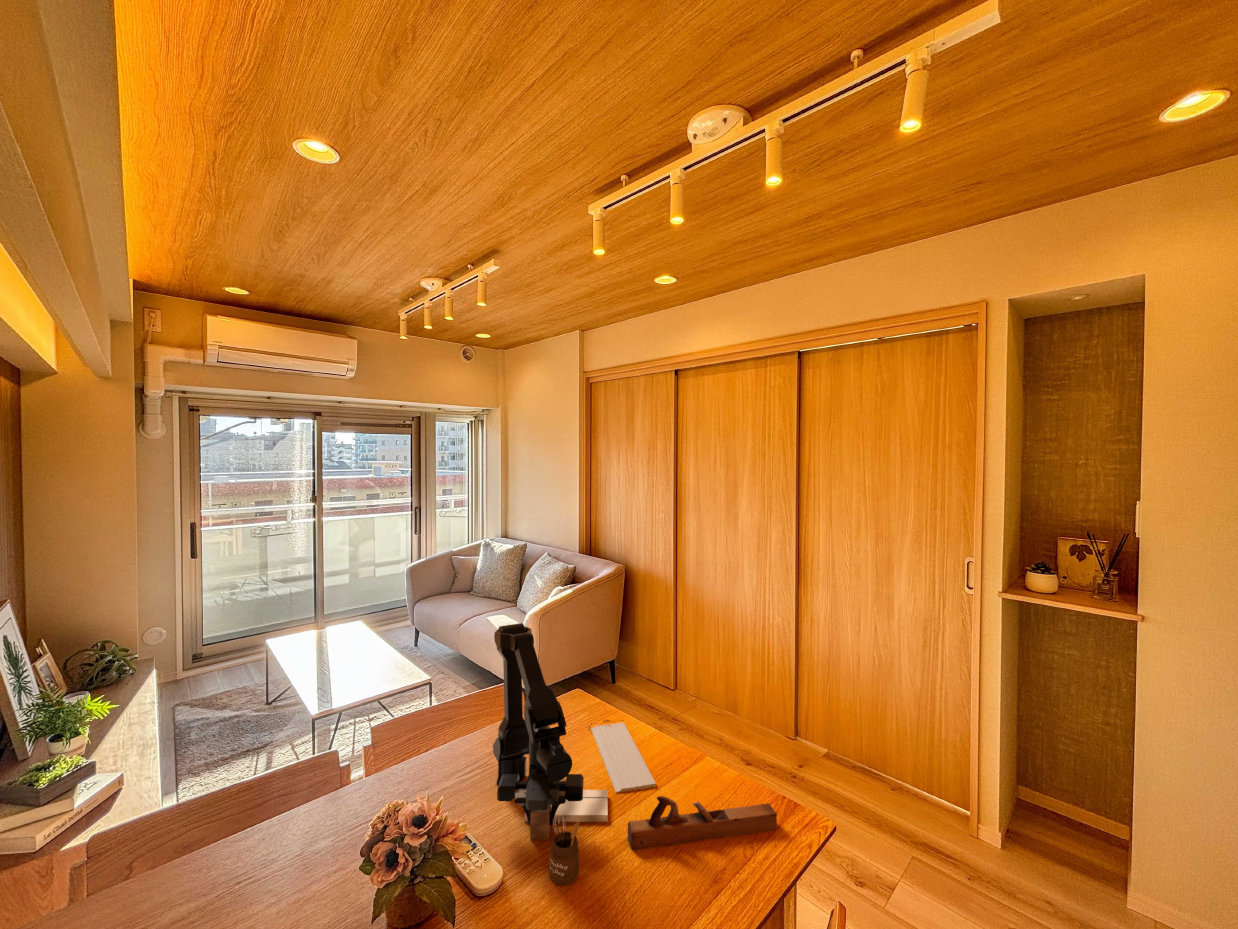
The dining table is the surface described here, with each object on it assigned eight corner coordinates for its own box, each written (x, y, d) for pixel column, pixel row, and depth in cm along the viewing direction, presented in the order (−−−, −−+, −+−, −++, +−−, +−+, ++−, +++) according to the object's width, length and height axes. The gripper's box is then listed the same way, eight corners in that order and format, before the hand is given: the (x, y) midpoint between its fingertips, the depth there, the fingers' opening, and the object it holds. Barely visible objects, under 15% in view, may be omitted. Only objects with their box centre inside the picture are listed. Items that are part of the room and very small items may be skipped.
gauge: (530, 839, 114) (530, 812, 114) (537, 800, 127) (538, 775, 127) (548, 839, 114) (548, 812, 114) (554, 800, 127) (554, 776, 127)
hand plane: (633, 857, 110) (634, 810, 110) (626, 839, 115) (627, 794, 115) (777, 831, 118) (778, 787, 118) (765, 815, 124) (766, 774, 123)
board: (524, 822, 119) (524, 815, 119) (530, 796, 128) (530, 789, 128) (607, 822, 120) (607, 814, 120) (607, 796, 129) (607, 789, 129)
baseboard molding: (610, 796, 130) (655, 789, 133) (610, 785, 130) (656, 778, 133) (586, 731, 160) (623, 727, 163) (586, 722, 160) (624, 718, 163)
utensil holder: (564, 858, 109) (565, 801, 109) (586, 874, 105) (587, 815, 105) (543, 875, 104) (544, 816, 104) (565, 892, 100) (566, 831, 100)
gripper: (492, 778, 108) (491, 852, 108) (582, 778, 108) (580, 851, 109) (502, 747, 119) (501, 815, 119) (584, 748, 120) (583, 815, 120)
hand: (540, 824), depth 117 cm, fingers closed on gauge, 4 cm apart
